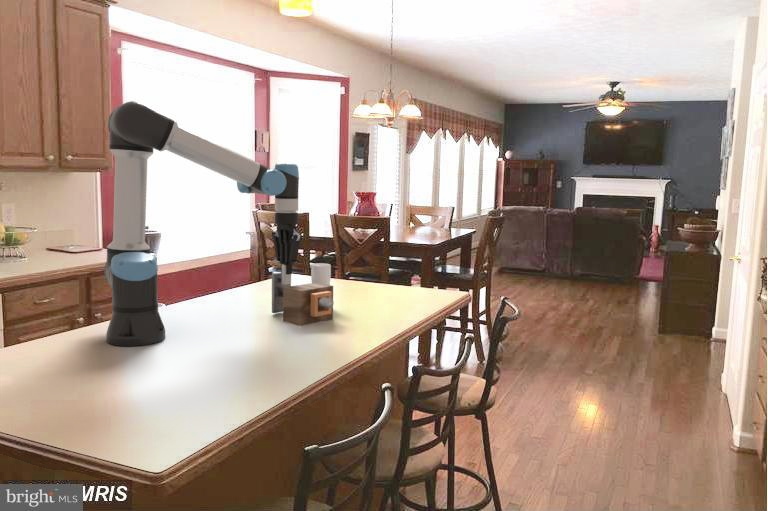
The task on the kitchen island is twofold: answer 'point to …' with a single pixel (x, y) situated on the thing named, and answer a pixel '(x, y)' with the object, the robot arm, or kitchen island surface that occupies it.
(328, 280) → the drinking glass
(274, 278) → the shaft
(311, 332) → the kitchen island surface
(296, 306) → the bearing block
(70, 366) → the kitchen island surface
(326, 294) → the orange square frame
